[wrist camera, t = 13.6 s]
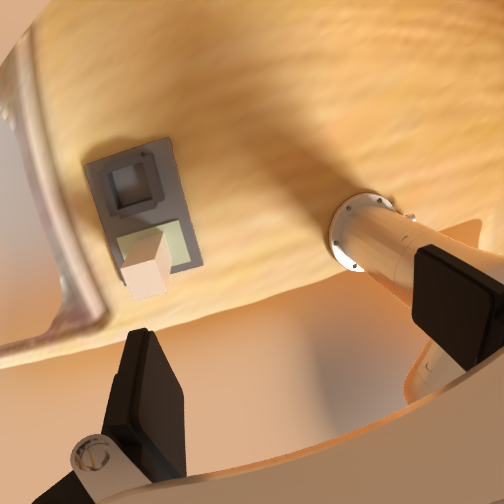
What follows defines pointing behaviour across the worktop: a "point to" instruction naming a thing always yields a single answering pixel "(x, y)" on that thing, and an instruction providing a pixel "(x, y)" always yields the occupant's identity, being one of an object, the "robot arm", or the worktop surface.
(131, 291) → the plug
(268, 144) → the worktop surface
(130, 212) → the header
